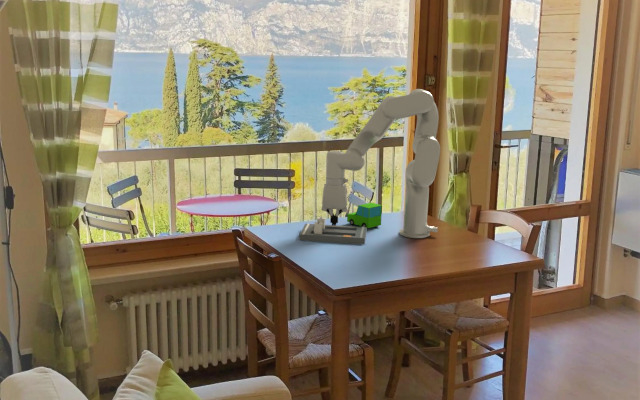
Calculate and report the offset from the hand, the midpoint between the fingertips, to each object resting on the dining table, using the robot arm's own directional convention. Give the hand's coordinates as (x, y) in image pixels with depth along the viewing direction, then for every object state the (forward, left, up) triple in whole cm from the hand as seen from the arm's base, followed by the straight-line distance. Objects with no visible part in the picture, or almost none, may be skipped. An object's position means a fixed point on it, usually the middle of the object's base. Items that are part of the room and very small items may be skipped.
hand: (334, 224), depth 264 cm
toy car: (-11, -15, -4) cm, 19 cm away
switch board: (0, +4, -4) cm, 6 cm away
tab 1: (+5, 0, -3) cm, 6 cm away
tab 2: (+6, +8, -3) cm, 10 cm away
